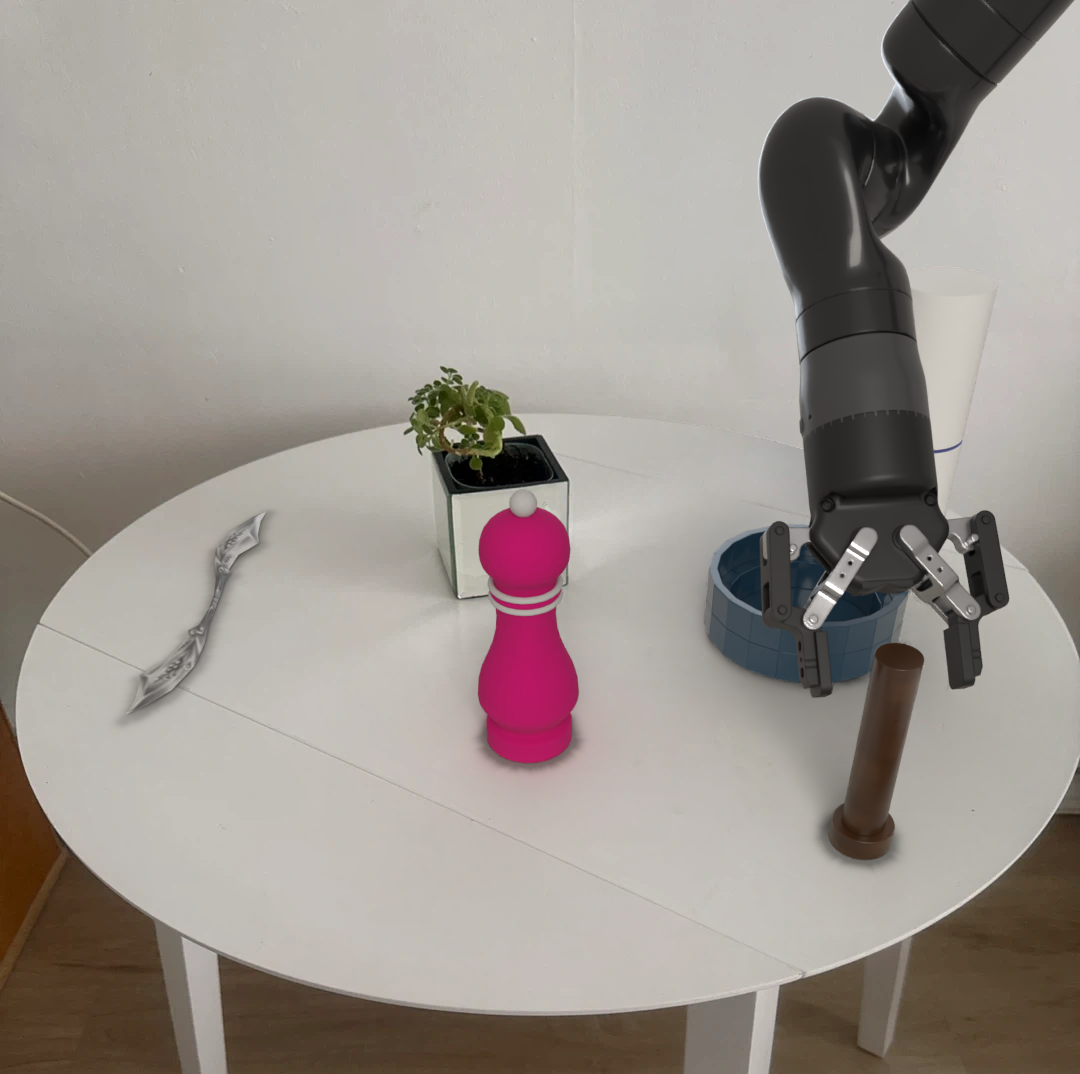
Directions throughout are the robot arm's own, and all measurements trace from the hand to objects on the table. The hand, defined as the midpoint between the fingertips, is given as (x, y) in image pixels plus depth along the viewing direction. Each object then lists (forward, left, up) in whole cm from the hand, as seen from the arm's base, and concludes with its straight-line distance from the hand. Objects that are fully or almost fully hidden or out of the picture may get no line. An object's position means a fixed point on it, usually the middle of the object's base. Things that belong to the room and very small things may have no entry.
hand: (893, 691), depth 69 cm
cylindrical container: (-1, -36, -13) cm, 38 cm away
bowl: (+6, -23, -12) cm, 27 cm away
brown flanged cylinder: (0, 0, -12) cm, 12 cm away
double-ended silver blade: (+56, -16, -12) cm, 59 cm away
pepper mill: (+24, -5, -13) cm, 28 cm away
